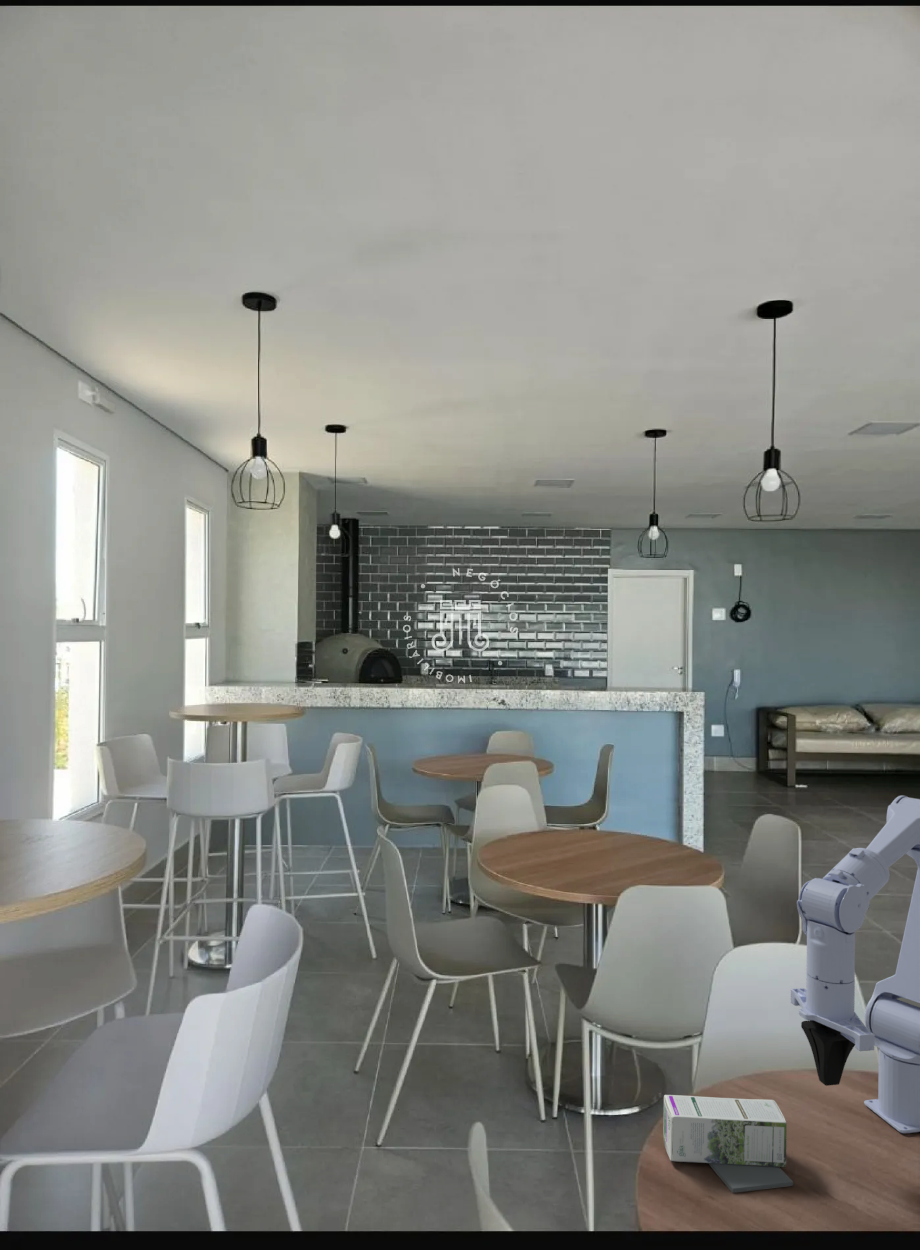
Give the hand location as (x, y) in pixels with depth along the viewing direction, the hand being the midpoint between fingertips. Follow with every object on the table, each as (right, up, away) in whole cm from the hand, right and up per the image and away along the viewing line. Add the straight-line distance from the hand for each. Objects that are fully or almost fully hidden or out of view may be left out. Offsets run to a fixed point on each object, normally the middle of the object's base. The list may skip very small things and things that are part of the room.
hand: (829, 1082), depth 112 cm
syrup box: (-6, -6, -1) cm, 9 cm away
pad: (-12, -9, -3) cm, 15 cm away
